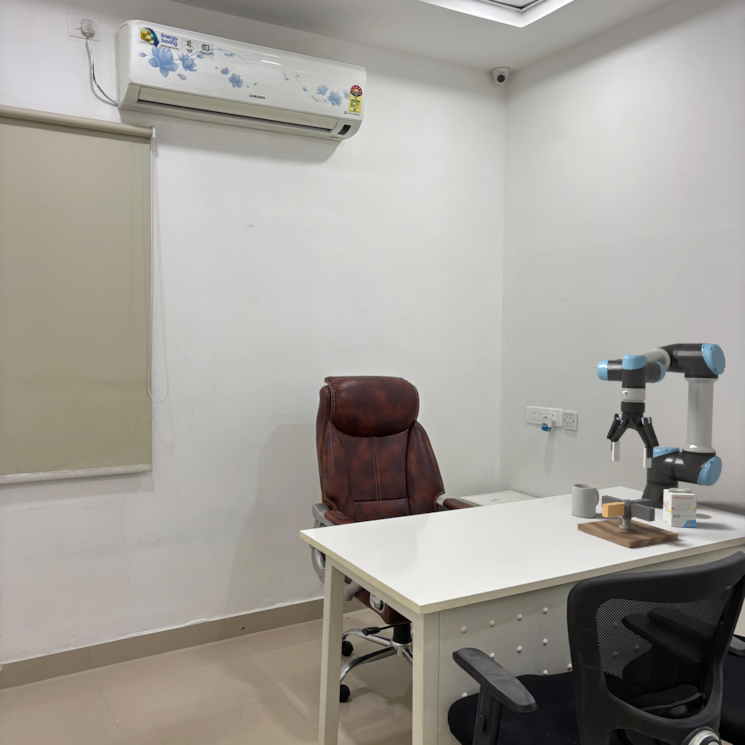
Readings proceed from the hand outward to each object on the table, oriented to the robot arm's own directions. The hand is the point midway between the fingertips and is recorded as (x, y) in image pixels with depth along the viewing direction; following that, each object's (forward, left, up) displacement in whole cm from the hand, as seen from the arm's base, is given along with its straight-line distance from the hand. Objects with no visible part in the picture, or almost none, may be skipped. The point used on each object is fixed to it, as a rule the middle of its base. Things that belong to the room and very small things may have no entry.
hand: (631, 464), depth 213 cm
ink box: (-26, -1, -24) cm, 35 cm away
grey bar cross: (+2, +1, -17) cm, 17 cm away
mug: (-5, -24, -24) cm, 34 cm away
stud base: (+2, +1, -23) cm, 24 cm away
